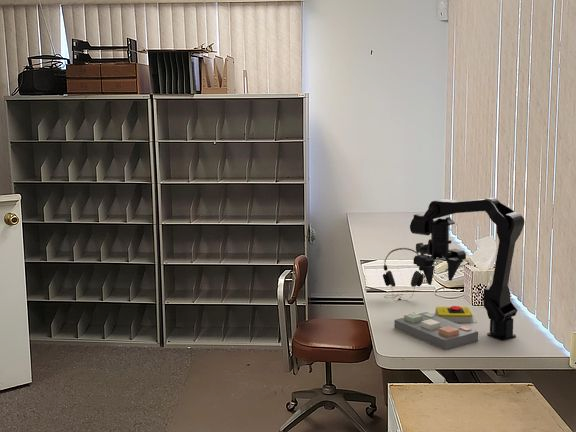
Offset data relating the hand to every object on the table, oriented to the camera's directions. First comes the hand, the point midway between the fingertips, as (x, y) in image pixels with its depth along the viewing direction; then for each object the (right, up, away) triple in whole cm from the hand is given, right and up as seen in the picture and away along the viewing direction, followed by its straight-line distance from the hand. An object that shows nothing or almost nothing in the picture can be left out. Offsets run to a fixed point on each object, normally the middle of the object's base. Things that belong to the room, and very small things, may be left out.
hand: (439, 282), depth 224 cm
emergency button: (+5, -13, +4) cm, 15 cm away
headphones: (-8, -9, +27) cm, 29 cm away
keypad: (-4, -16, -11) cm, 20 cm away
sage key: (-10, -12, -6) cm, 17 cm away
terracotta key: (-2, -14, -20) cm, 24 cm away
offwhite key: (-6, -13, -13) cm, 19 cm away
